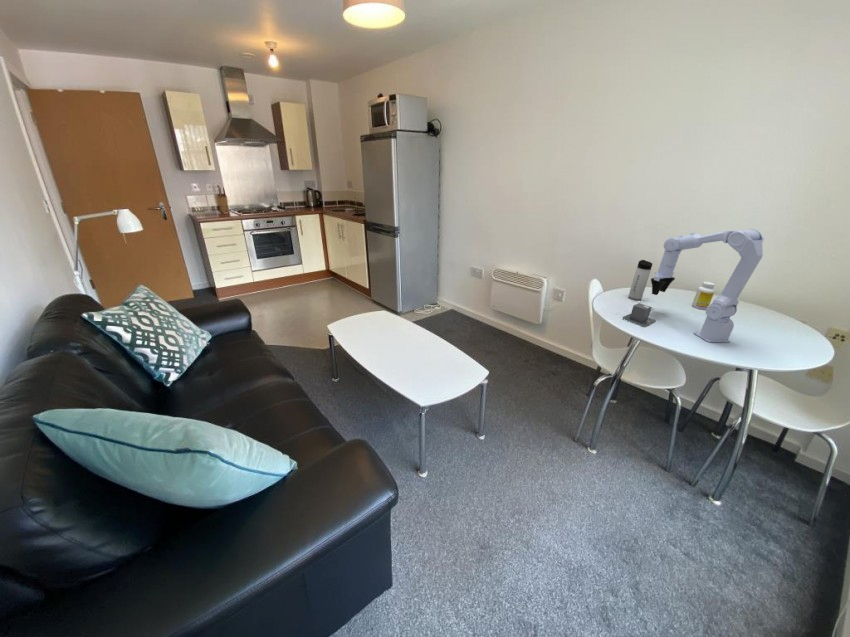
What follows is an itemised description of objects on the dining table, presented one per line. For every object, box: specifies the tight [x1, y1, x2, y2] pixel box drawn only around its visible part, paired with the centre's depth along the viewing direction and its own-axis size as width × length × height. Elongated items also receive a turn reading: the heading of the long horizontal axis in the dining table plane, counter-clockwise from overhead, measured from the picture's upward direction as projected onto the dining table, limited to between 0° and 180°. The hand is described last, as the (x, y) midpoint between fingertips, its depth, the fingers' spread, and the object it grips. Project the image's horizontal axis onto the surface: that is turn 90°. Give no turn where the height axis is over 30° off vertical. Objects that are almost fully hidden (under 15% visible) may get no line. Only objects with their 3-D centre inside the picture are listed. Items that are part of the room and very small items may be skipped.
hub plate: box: [622, 313, 657, 328], centre depth 159 cm, size 10×10×4 cm
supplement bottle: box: [691, 281, 716, 310], centre depth 175 cm, size 7×7×13 cm
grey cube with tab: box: [630, 302, 653, 322], centre depth 158 cm, size 5×5×6 cm
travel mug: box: [627, 259, 653, 301], centre depth 182 cm, size 6×7×20 cm
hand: (658, 292), depth 164 cm, fingers open, 7 cm apart
